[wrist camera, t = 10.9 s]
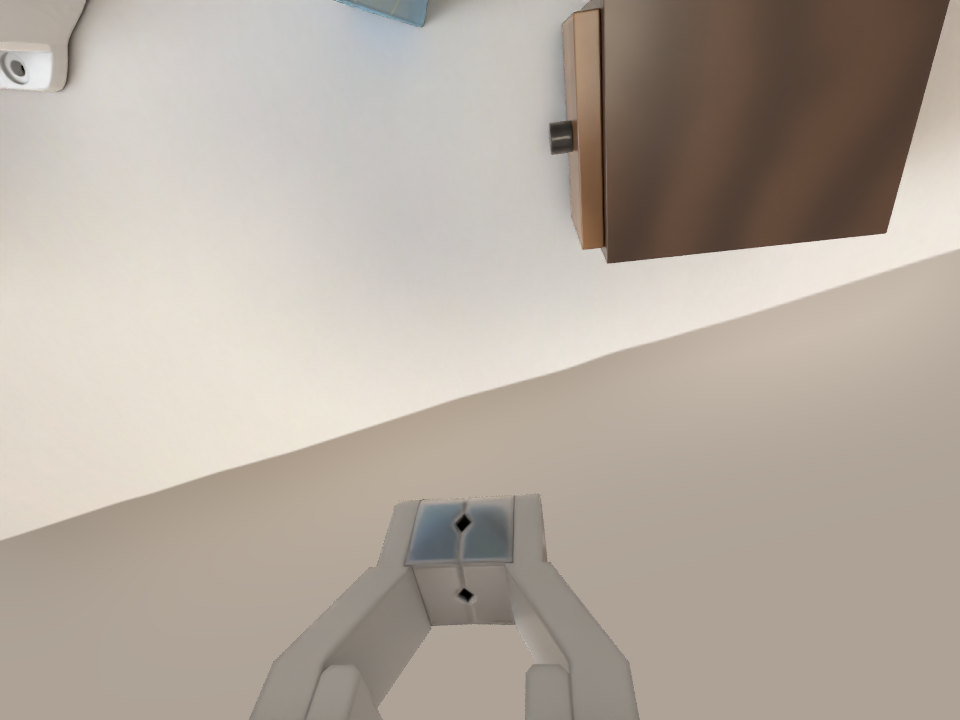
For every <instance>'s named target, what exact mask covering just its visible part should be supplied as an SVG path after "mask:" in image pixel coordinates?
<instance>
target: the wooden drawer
mask: <svg viewBox="0 0 960 720" xmlns="http://www.w3.org/2000/svg"><path fill="white" fill-rule="evenodd" d="M562 34H563V54H564V74H565V95H566V115H567V121H562V122H556V123H550V124H549V139H550V150H551V154H552V155H553V154H560V153H568V156H569V176H570V197H571V217H572V220H573V223H574V226H575V229H576V232H577V235H578V238H579V241H580V244H581V247H582V249H583V250H585V249H594V248H603V247H604V202H603V142H602V81H601V21H600V8H594V9H588V10H583V11H577V12H574V13H573V14H572V15H571V16H570V17H569V18H568V19H567V20H566V21H565V22H564V23H563V24H562Z"/></svg>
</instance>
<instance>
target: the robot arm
mask: <svg viewBox="0 0 960 720" xmlns="http://www.w3.org/2000/svg"><path fill="white" fill-rule="evenodd" d="M85 3H86V0H0V89H12V90H28V91H43V92H57V91H60V90H61V89H62V88H63V87H64V86H65V83H66V79H67V70H68V41H69V38H70V35H71V33H72V31H73V29H74V27H75V25H76V23H77V21H78V19H79V17H80V15H81V13H82V11H83V8H84V6H85ZM21 64H22V65H23V67H24V69H25V73H24V72H23V70H22V68H21ZM462 624H500V625H516V628H517V630H518V631H519V633H520V635H521V637H522V639H523V640H524V642H525V644H526V646H527V648H528V649H529V651H530V653H531V654H532V656H533V658H534V660H535V662H536V663H537V664H534V665H532V666H531V667H530V669H529V670H528V671H527V672H526V694H525V695H526V697H525V698H526V699H525V720H639V714H638V709H637V703H636V698H635V692H634V687H633V681H632V676H631V670H630V664H629V662H628V660H627V659H626V658H625V656H624V655H623V654H622V653H621V652H620V650H619V649H618V648H617V646H616V645H615V644H614V642H613V641H612V640H611V639H610V637H609V636H608V635H607V634H606V632H605V631H604V630H603V629H602V627H601V626H600V625H599V623H598V622H597V621H596V620H595V618H594V617H593V616H592V614H591V613H590V612H589V611H588V609H587V608H586V607H585V605H584V604H583V603H582V602H581V600H580V599H579V598H578V597H577V595H576V594H575V593H574V592H573V590H572V589H571V588H570V586H569V585H568V584H567V583H566V581H565V580H564V579H563V577H562V576H561V575H560V574H559V572H558V571H557V570H556V569H555V568H554V566H553V565H552V563H551V562H547V553H546V542H545V532H544V522H543V513H542V504H541V497H540V494H526V495H509V496H492V497H475V498H467V499H465V498H462V499H423V500H399V501H398V502H397V504H396V505H395V506H394V509H393V513H392V516H391V520H390V523H389V526H388V530H387V533H386V536H385V540H384V543H383V547H382V550H381V553H380V557H379V560H378V564H377V567H370V568H368V569H367V570H366V571H365V572H364V573H363V574H362V575H361V576H360V577H359V578H358V579H357V580H356V581H355V582H354V583H353V584H352V585H351V586H350V587H349V588H348V589H347V590H346V591H345V592H344V593H343V594H342V595H341V596H340V597H339V598H338V599H337V600H336V601H335V602H334V603H333V604H332V605H331V606H330V607H329V608H328V609H327V610H326V611H325V612H324V613H323V614H322V615H321V616H320V617H319V618H318V619H317V620H316V621H315V622H314V623H313V624H312V625H311V626H310V627H309V628H308V629H306V630H305V632H303V633H302V634H301V635H300V636H299V637H298V638H297V639H296V640H295V641H294V642H293V643H292V644H291V645H290V646H289V647H288V648H287V649H286V650H285V651H284V652H283V653H282V654H281V655H280V656H279V657H278V658H277V659H276V660H275V661H274V662H273V664H272V667H271V669H270V671H269V674H268V676H267V678H266V681H265V683H264V685H263V688H262V690H261V692H260V695H259V697H258V700H257V702H256V704H255V707H254V709H253V712H252V714H251V716H250V719H249V720H382V718H381V716H380V714H379V711H378V709H377V707H378V706H379V704H380V703H381V702H382V700H383V699H384V697H385V696H386V694H387V693H388V691H389V690H390V688H391V687H392V686H393V684H394V683H395V681H396V680H397V678H398V677H399V675H400V674H401V672H402V671H403V669H404V668H405V667H406V665H407V664H408V662H409V661H410V659H411V658H412V656H413V655H414V653H415V652H416V650H417V649H418V648H419V646H420V644H421V643H422V642H423V640H424V639H425V637H426V636H427V634H428V633H429V631H430V630H431V626H437V625H438V626H439V625H462Z"/></svg>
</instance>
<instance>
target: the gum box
mask: <svg viewBox="0 0 960 720" xmlns="http://www.w3.org/2000/svg"><path fill="white" fill-rule="evenodd" d="M334 1H337V2H340V3H343V4H345V5H348V6H351V7H354V8H357V9H360V10H363V11H367V12H370V13H373V14H376V15H380V16H383V17H387V18H390V19H394V20H397V21H401V22H404V23H407V24H411V25H414V26H419V27H423V26H424V21H425V16H426V9H427V3H428V0H334Z"/></svg>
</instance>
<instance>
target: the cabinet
mask: <svg viewBox="0 0 960 720" xmlns="http://www.w3.org/2000/svg"><path fill="white" fill-rule="evenodd" d="M949 1H950V0H591V1H590V2H589V3H587V4H586V5H585V6H584V8H583V9H582V11H583V10H588V9H594V8H600V21H601V81H602V142H603V202H604V247H603V248H601V250H602V252H603V255H604V257H605V259H606V262H607V263H617V262H627V261H636V260H645V259H654V258H663V257H673V256H682V255H691V254H700V253H709V252H719V251H728V250H737V249H746V248H755V247H765V246H774V245H783V244H792V243H801V242H811V241H820V240H829V239H838V238H847V237H857V236H866V235H875V234H884V233H886V232H887V228H888V225H889V221H890V217H891V214H892V210H893V206H894V203H895V199H896V195H897V192H898V188H899V184H900V181H901V177H902V173H903V170H904V166H905V162H906V159H907V155H908V151H909V148H910V144H911V140H912V137H913V133H914V129H915V126H916V122H917V118H918V115H919V111H920V107H921V104H922V100H923V96H924V93H925V89H926V85H927V82H928V78H929V74H930V71H931V67H932V63H933V60H934V56H935V52H936V49H937V45H938V41H939V38H940V34H941V30H942V27H943V23H944V19H945V16H946V12H947V8H948V5H949Z"/></svg>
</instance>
